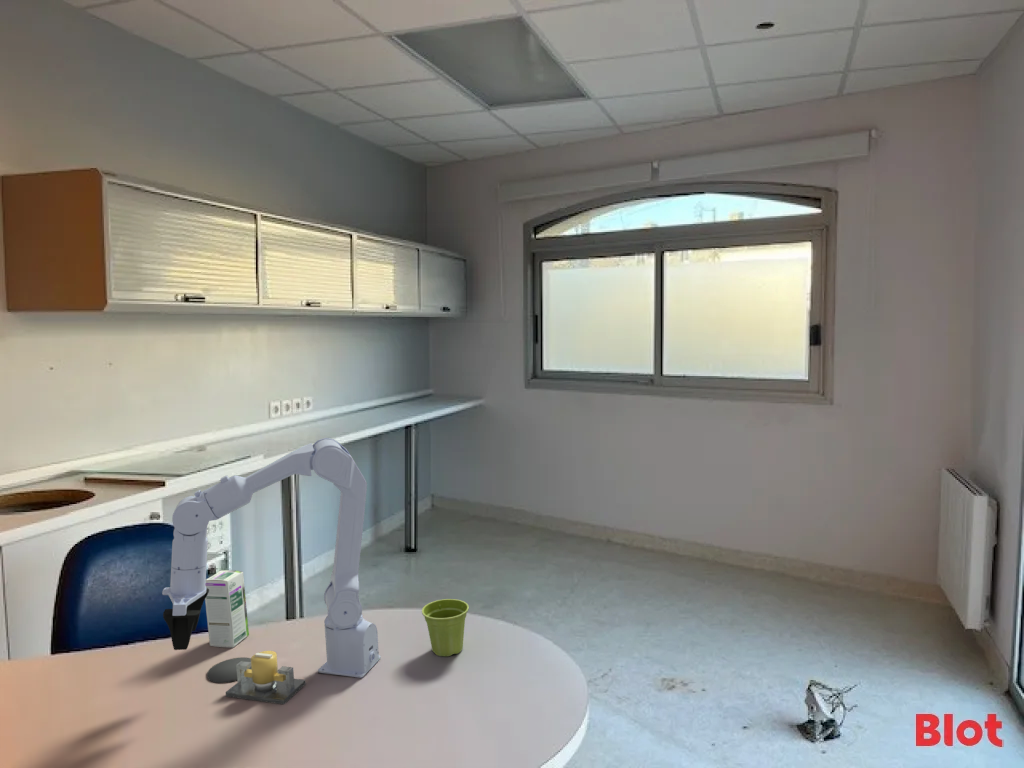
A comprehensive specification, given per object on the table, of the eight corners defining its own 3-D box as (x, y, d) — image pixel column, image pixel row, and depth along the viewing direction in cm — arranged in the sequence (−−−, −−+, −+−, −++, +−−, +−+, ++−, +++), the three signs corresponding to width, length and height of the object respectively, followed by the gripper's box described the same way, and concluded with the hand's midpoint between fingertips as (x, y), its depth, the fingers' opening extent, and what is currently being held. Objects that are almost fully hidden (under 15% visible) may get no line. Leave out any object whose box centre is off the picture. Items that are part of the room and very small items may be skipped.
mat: (266, 661, 136) (266, 660, 136) (237, 685, 127) (236, 683, 127) (228, 656, 138) (228, 655, 138) (196, 679, 129) (196, 678, 129)
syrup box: (233, 648, 142) (228, 580, 140) (208, 646, 143) (202, 579, 141) (249, 635, 147) (244, 570, 146) (224, 634, 148) (219, 569, 147)
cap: (291, 673, 126) (290, 651, 125) (277, 686, 121) (275, 662, 121) (253, 669, 128) (252, 646, 127) (238, 681, 124) (236, 658, 123)
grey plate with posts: (305, 684, 127) (304, 660, 126) (283, 704, 120) (282, 679, 120) (249, 677, 130) (248, 653, 129) (225, 696, 123) (223, 671, 123)
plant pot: (417, 659, 134) (414, 617, 134) (432, 637, 143) (430, 597, 143) (462, 663, 132) (460, 620, 131) (475, 640, 141) (474, 600, 141)
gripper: (173, 552, 128) (169, 623, 129) (154, 579, 114) (150, 658, 115) (214, 552, 130) (210, 622, 130) (200, 578, 116) (196, 657, 117)
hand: (185, 639), depth 123 cm, fingers open, 7 cm apart
